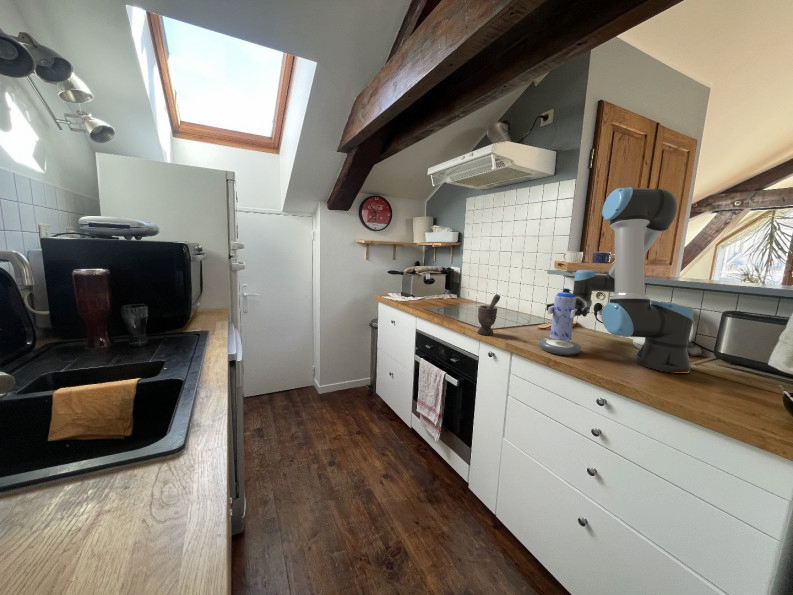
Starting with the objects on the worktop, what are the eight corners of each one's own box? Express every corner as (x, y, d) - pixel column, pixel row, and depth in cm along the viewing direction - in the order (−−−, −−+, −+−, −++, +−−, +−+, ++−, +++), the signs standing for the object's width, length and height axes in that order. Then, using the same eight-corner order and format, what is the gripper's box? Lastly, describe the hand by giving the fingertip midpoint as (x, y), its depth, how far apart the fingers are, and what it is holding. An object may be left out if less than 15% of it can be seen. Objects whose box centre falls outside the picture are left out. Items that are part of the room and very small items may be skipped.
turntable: (589, 351, 120) (590, 347, 120) (561, 354, 115) (562, 350, 115) (556, 340, 134) (557, 337, 134) (530, 343, 128) (531, 339, 128)
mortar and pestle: (504, 336, 143) (508, 294, 140) (493, 339, 138) (497, 295, 135) (483, 330, 152) (487, 290, 149) (472, 332, 147) (475, 291, 144)
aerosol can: (575, 339, 122) (582, 290, 119) (560, 341, 119) (567, 290, 116) (559, 334, 129) (565, 287, 126) (545, 335, 126) (550, 287, 123)
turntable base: (582, 354, 121) (583, 351, 121) (560, 357, 117) (561, 353, 117) (556, 345, 132) (557, 342, 132) (536, 347, 128) (536, 344, 128)
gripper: (600, 318, 129) (588, 327, 113) (549, 310, 143) (532, 317, 126) (603, 301, 128) (591, 307, 111) (551, 294, 142) (534, 299, 125)
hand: (560, 312), depth 119 cm, fingers closed on aerosol can, 7 cm apart
